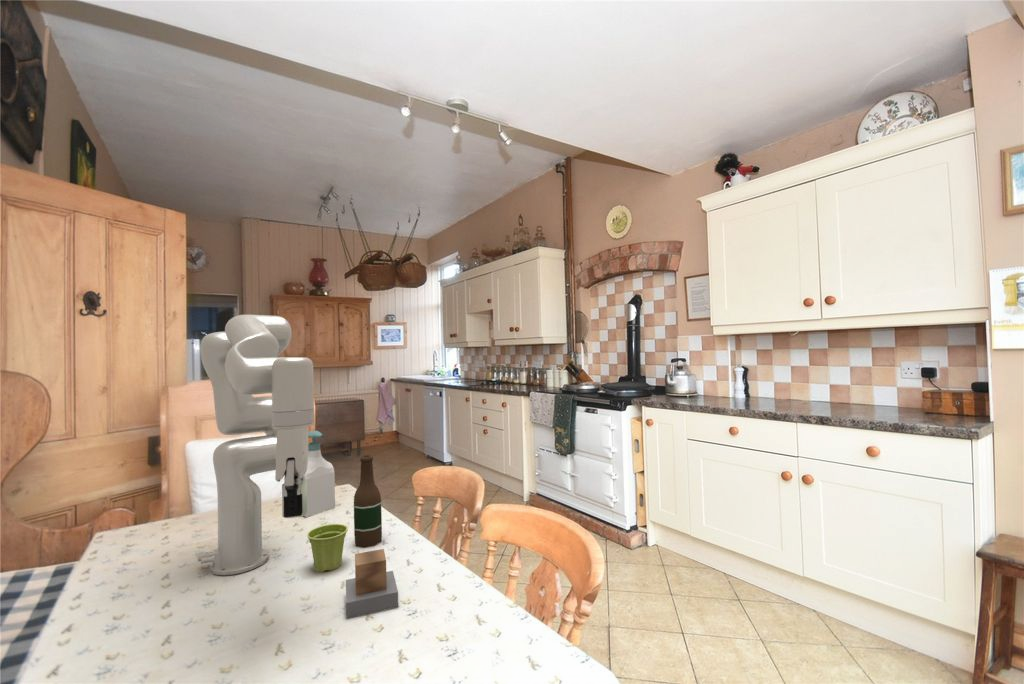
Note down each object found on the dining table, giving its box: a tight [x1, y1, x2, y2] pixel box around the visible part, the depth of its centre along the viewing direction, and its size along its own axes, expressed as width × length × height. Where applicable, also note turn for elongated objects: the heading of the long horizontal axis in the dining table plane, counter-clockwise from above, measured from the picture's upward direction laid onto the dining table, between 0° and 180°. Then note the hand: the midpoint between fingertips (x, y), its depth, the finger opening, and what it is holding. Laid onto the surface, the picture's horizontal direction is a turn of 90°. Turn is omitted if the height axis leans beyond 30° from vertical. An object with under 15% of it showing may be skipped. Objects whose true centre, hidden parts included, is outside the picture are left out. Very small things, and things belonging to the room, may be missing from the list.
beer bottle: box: [353, 454, 383, 549], centre depth 124 cm, size 8×8×24 cm
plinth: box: [345, 570, 399, 620], centre depth 93 cm, size 10×10×3 cm
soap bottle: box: [301, 430, 336, 518], centre depth 151 cm, size 11×8×27 cm
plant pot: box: [306, 523, 349, 572], centre depth 110 cm, size 9×9×9 cm
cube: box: [354, 548, 387, 596], centre depth 94 cm, size 6×6×6 cm
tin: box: [281, 480, 307, 519], centre depth 87 cm, size 4×4×6 cm
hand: (294, 510), depth 87 cm, fingers closed on tin, 4 cm apart
